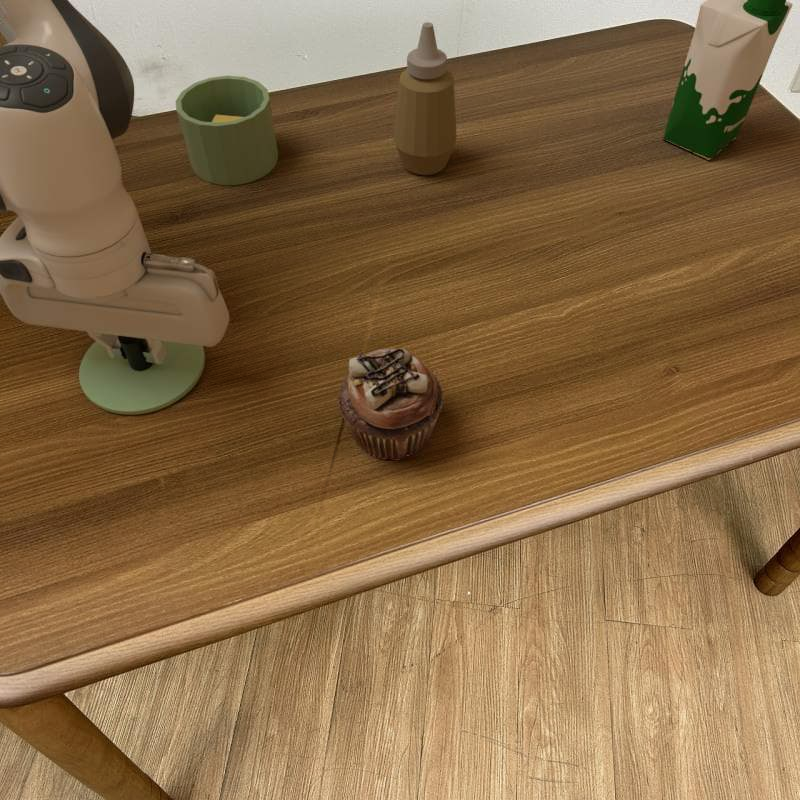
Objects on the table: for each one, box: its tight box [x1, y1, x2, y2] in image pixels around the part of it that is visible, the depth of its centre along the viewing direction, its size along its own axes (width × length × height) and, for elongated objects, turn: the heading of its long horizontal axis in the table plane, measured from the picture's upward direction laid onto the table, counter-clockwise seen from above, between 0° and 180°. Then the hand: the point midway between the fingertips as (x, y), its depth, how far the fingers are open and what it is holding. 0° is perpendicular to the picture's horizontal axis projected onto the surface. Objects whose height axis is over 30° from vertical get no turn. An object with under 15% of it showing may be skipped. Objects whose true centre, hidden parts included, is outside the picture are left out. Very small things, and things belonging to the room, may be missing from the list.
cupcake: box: [337, 348, 445, 461], centre depth 68 cm, size 10×10×10 cm
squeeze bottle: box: [393, 21, 457, 176], centre depth 91 cm, size 8×8×18 cm
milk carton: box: [662, 0, 794, 158], centre depth 93 cm, size 9×9×20 cm
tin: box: [175, 75, 279, 186], centre depth 95 cm, size 11×11×8 cm
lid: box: [78, 336, 206, 416], centre depth 74 cm, size 12×12×5 cm
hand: (139, 356), depth 74 cm, fingers closed on lid, 2 cm apart
